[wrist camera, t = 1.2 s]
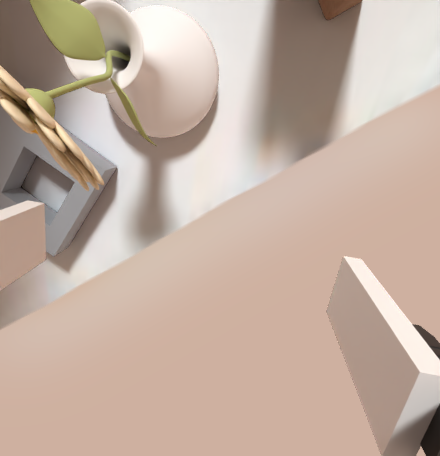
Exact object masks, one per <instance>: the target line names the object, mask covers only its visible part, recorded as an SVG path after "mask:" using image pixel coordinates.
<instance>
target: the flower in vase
mask: <svg viewBox="0 0 440 456" xmlns="http://www.w3.org/2000/svg"><path fill="white" fill-rule="evenodd" d="M29 1H30V3H31V6H32V8H33V10H34V12H35V15H36V17H37V19H38V21H39V23H40V24H41V26H42V28H43V30H44V31H45V33H46V35H47V36H48V38H49V39H50V41H51V42H52V43H53V45H54V46H55V47H56V48H57V49H58V50H59V52H60V53H62V54H63V55H64V58H65V61H66V64H67V66H68V68H69V70H70V72H71V73H72V74H73V76H74V77H75V78H76V79H77V81H76V82H73V83H70V84H67V85H64V86H61V87H58V88H56V89H53V90H50V91H47V92H44V91H42V90H39V89H34V88H26V89H24V88H23V87H22V86H21V85H20V84H19V83H18V82H17V81H16V80H15V79H14V78H13V77H12V76H11V75H10V74H9V73H8V72H7V71H6V70H5V69H4V68H3V67H2V66H1V65H0V104H1V106H2V107H3V109H4V110H5V111H6V112H7V113H8V114H9V115H10V116H11V118H12V120H13V121H14V122H15V123H16V124H17V125H18V126H19V127H20V128H21V129H22V130H24V131H25V132H27V133H30V134H33V133H36V134H37V135H38V136H39V138H40V139H41V141H42V142H43V144H44V145H45V147H46V148H47V150H48V151H49V152H50V154H51V155H52V157H53V158H54V160H55V161H56V162H57V163H58V164H59V165H60V166H61V167H62V168H63V169H64V170H66V171H68V172H69V174H70V175H71V176H72V177H73V178H74V179H76V180H77V181H78V182H79V183H80V185H81V186H82V187H83V188H84V189H85V190H87V191H89V187H88V185H87V183H86V182H90V184H91V185H92V186H93V187H94V188H95V189H96V190H99V185H98V184H101V185H104V181H103V179H102V177H101V175H100V174H99V173H98V171H97V170H96V168H95V167H94V166H93V164H92V163H91V162H90V160H89V159H88V158H87V157H86V156H85V154H84V153H83V152H82V151H81V149H80V148H79V147H78V146H77V144H76V143H75V142H74V141H73V140H72V138H71V137H70V136H69V135H68V134H67V133H66V131H65V130H64V129H63V128H62V127H61V126H60V125H59V124H58V123H57V122H56V121H55V120H54V115H55V105H54V102H53V100H52V99H53V98H55V97H58V96H60V95H63V94H65V93H68V92H71V91H73V90H76V89H79V88H82V87H86V88H88V89H90V90H92V91H94V92H98V93H103V94H105V95H106V98H107V99H108V101H109V103H110V105H111V107H112V108H113V110H114V111H115V113H116V114H117V115H118V116H119V118H120V119H121V120H122V121H123V122H124V123H126V124H127V125H128V126H129V127H131V128H132V129H134V130H136V131H137V132H139V133H140V134H141V135H142V136H143V137H144V138H145V139H146V140H147V141H149V142H150V143H152V144H153V145H155V144H154V143H153V142H152V141H151V140H150V139H149V137H148V136H151V137H158V138H168V137H174V136H178V135H181V134H183V133H185V132H187V131H189V130H191V129H192V128H194V127H195V126H196V125H197V124H198V123H200V122H201V121H202V119H203V118H204V117H205V116H206V115H207V113H208V111H209V110H210V108H211V106H212V104H213V102H214V99H215V96H216V93H217V88H218V81H219V67H218V61H217V56H216V53H215V49H214V47H213V45H212V42H211V40H210V38H209V37H208V35H207V33H206V32H205V31H204V29H203V28H202V27H201V26H200V25H199V24H198V23H197V22H196V20H194V19H193V18H192V17H190V16H189V15H188V14H186V13H184V12H182V11H181V10H178V9H176V8H173V7H169V6H164V5H151V6H145V7H141V8H138V9H136V10H134V11H131V12H130V13H129V12H128V11H127V10H126V9H125V8H124V7H122V6H121V5H119V4H118V3H116V2H114V1H111V0H87V1H84V2H82V3H81V4H78V3H76V2H73V1H71V0H29ZM155 146H156V145H155ZM97 183H98V184H97Z"/></svg>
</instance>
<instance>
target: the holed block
mask: <svg viewBox="0 0 440 456" xmlns="http://www.w3.org/2000/svg"><path fill="white" fill-rule="evenodd" d="M60 126H61V125H60ZM61 127H62V126H61ZM62 128H63V127H62ZM63 129H64V130H65V131H66V133H67V134H68V135H69V136H70V137H71V138H72V140H73V141H74V142H75V143H76V144H77V146H78V147H79V148H80V149H81V151H82V152H83V153H84V154H85V156H86V157H87V158H88V159H89V160H90V162H91V163H92V164H93V166H94V167H95V168H96V170H97V171H98V173H99V174H100V175H101V177H102V179H103V181H104V185H101V184H98V183H97V184H98V185H99V190H96V189H95V188H94V187H93V186H92V185H91V184H90V182H86V183H87V185H88V187H89V191H87V190H85V189H84V188H83V187H82V186H81V185H80V183H79V182H78V181H77V180H76V179H74V178H73V177H72V176H71V175H70V174H69V172H68V171H66V170H64V169H63V168H62V167H61V166H60V165H59V164H58V163H57V162H56V161H55V160H54V158H53V157H52V155H51V154H50V152H49V151H48V150H47V148H46V147H45V145H44V144H43V142H42V141H41V139H40V138H39V136H38V135H37V134H36V133H33V134H30V133H27V132H25V131H24V130H22V129H21V128H20V127H19V126H18V125H17V124H16V123H15V122H14V121H13V120H12V118H11V116H10V115H9V114H8V113H7V112H6V111H5V110H4V109H3V107H2V106H1V104H0V210H2V209H5V208H8V207H10V206H13V205H16V204H19V203H22V202H24V201H27V200H29V201H34V202H40V203H43V202H41V201H40V200H38V199H37V198H35V197H34V196H32V195H31V194H29V193H28V192H27V191H25V190H24V189H22V188H21V185H22V183H23V181H24V179H25V177H26V175H27V174H28V172H29V170H30V168H31V166H32V164H33V162H34V160H35V158H36V156H38V157H40V158H41V159H43V160H44V161H45V162H47V163H48V164H50V165H51V166H53V167H54V168H55V169H57V170H58V171H60V172H61V173H62V174H64V175H65V176H67V177H68V178H69V179H71V180H72V181H74V182H75V183H74V184H73V186H72V188H71V190H70V191H69V193H68V195H67V197H66V198H65V200H64V202H63V204H62V205H61V207H60V209H59V211H58V213H57V212H56V211H54V210H53V209H51V208H50V207H48V206H47V205H45V204H44V206H45V238H46V252H48V253H49V254H51V255H52V256H55V255H57V254H58V253H60V252H61V251H63V250H64V249H66V248H67V247H68V246H69V245H70V243H71V242H72V240H73V238H74V237H75V235H76V233H77V232H78V230H79V228H80V227H81V225H82V223H83V222H84V220H85V219H86V217H87V215H88V214H89V212H90V210H91V209H92V207H93V205H94V204H95V202H96V201H97V199H98V197H99V196H100V194H101V192H102V191H103V189H104V187H105V186H106V184H107V182H108V181H109V179H110V178H111V176H112V174H113V173H114V171H115V169H116V168H117V166H116V165H114V164H113V163H111V162H110V161H109V160H107V159H106V158H105V157H103V156H102V155H100V154H99V153H98V152H96V151H95V150H94V149H92V148H91V147H89V146H88V145H87V144H85V143H84V142H83V141H81V140H80V139H78V138H77V137H76V136H74V135H73V134H72V133H70V132H69V131H67V130H66V129H65V128H63Z"/></svg>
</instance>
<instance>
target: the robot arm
mask: <svg viewBox="0 0 440 456" xmlns="http://www.w3.org/2000/svg"><path fill="white" fill-rule="evenodd" d="M45 260H46V238H45V206H44V203H40V202H34V201H29V200H27V201H24V202H22V203H19V204H16V205H13V206H10V207H8V208H5V209H2V210H0V291H1V290H2V289H4V288H5V287H6V286H8V285H9V284H11V283H12V282H14V281H15V280H17V279H18V278H20V277H21V276H23V275H24V274H26V273H27V272H29V271H30V270H32V269H33V268H35V267H36V266H38V265H39V264H41V263H42V262H44V261H45ZM326 312H327V314H328V317H329V319H330V322H331V325H332V328H333V330H334V333H335V335H336V338H337V341H338V343H339V346H340V349H341V351H342V354H343V356H344V359H345V362H346V364H347V367H348V369H349V372H350V374H351V377H352V380H353V383H354V385H355V388H356V390H357V393H358V396H359V398H360V401H361V403H362V406H363V409H364V411H365V414H366V416H367V419H368V422H369V424H370V427H371V429H372V432H373V435H374V437H375V440H376V442H377V445H378V448H379V450H380V453H381V456H416V454H417V452H418V450H419V448H420V446H421V447H422V448H423V450H424V452H425V454H426V456H440V343H439V342H438V341H437V340H436V339H435V337H434V336H432V335H431V334H430V333H428V332H427V331H426V330H425V329H423V328H422V327H421V326H419V325H413V324H411V322H410V321H409V320H408V319H407V317H406V316H405V315H404V313H403V312H402V311H401V310H400V308H399V307H398V306H397V304H396V303H395V302H394V301H393V300H392V298H391V297H390V295H389V294H388V293H387V292H386V290H385V289H384V288H383V286H382V285H381V284H380V283H379V281H378V280H377V279H376V277H375V276H374V275H373V274H372V272H371V271H370V270H369V268H368V267H367V266H366V265H365V263H364V262H363V261H362V260H361V259H357V258H351V257H346V256H343V258H342V261H341V265H340V268H339V271H338V274H337V278H336V281H335V284H334V288H333V291H332V294H331V298H330V301H329V304H328V307H327V311H326Z"/></svg>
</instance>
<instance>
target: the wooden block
mask: <svg viewBox="0 0 440 456" xmlns="http://www.w3.org/2000/svg"><path fill="white" fill-rule="evenodd" d="M318 1H319V4H320V7H321V9H322V12H323V14H324V17H325V19H326V20H330V19H332V18H334V17H336V16H337V15H339V14H341V13H342V12H344V11H346V10H348V9H349V8H351V7H353V6H354V5H356V4H358V3H360V2H361V1H362V0H318Z"/></svg>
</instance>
